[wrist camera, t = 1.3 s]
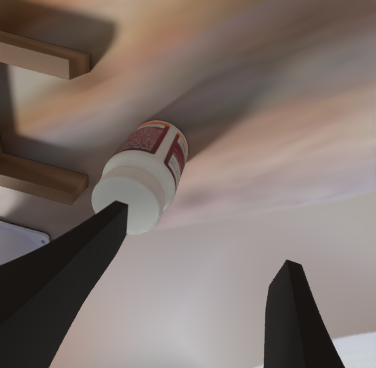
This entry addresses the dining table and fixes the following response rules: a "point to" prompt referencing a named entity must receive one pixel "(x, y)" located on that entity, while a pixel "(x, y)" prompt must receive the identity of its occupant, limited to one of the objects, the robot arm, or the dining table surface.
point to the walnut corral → (27, 169)
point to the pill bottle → (144, 174)
